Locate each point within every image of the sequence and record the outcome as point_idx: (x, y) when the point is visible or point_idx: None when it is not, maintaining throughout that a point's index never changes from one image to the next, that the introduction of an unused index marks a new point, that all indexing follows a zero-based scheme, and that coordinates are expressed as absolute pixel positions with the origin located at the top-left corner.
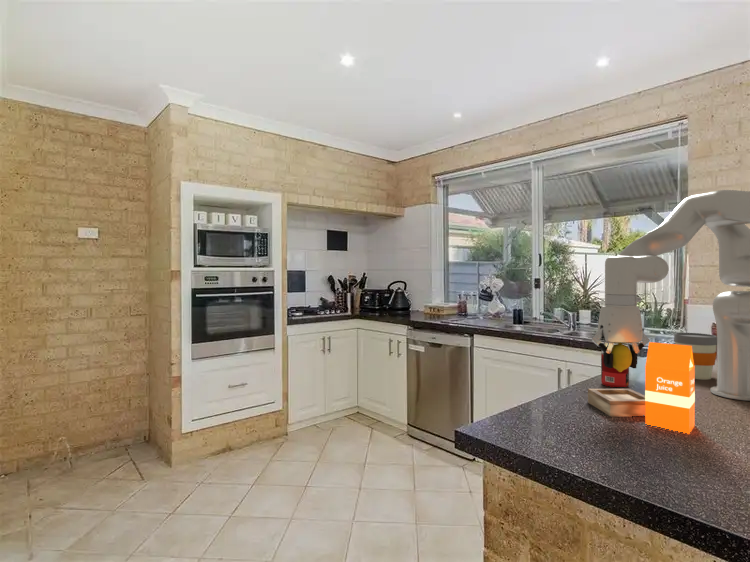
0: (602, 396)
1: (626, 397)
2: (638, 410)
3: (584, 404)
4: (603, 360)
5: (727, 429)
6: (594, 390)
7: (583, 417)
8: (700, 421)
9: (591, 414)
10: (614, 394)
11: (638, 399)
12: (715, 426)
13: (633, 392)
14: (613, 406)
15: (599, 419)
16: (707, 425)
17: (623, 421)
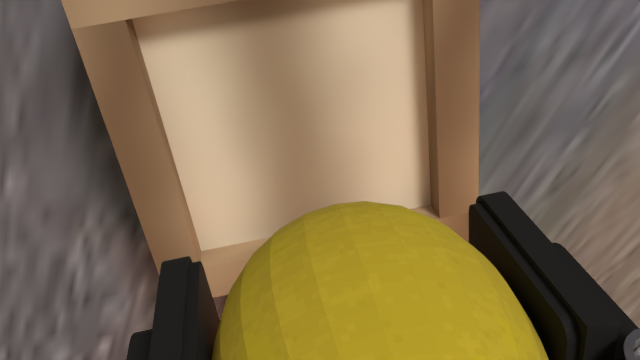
0: (141, 214)
1: (353, 92)
2: None
3: (47, 15)
4: (128, 356)
5: (635, 292)
6: (109, 37)
7: (15, 289)
8: (608, 218)
9: (70, 231)
10: (292, 13)
11: None
12: (618, 269)
13: (439, 46)
14: None
15: (104, 299)
16: (594, 264)
17: (225, 299)
